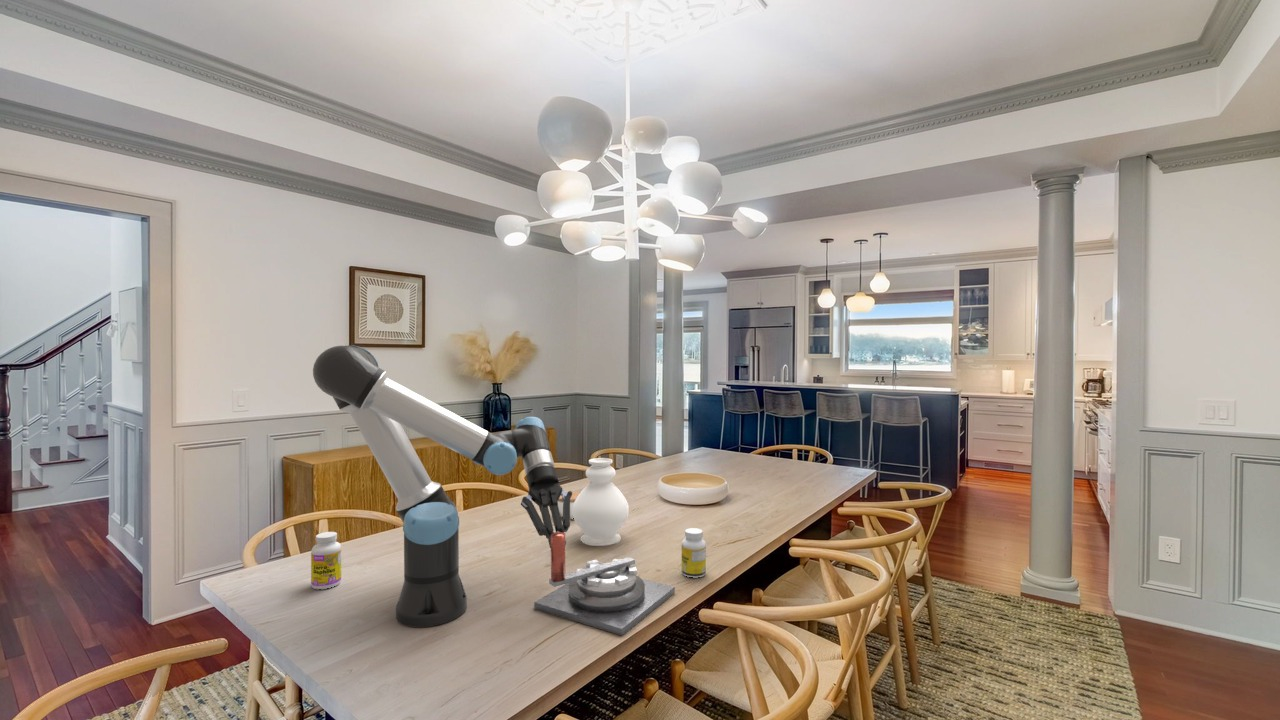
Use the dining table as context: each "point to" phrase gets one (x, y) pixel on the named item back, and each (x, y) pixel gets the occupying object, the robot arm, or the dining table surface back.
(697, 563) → the pill bottle
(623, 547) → the dining table surface
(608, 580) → the red grip crank lever
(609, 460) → the decorative vase
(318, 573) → the supplement bottle
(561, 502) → the lidded jar
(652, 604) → the grey crank base
